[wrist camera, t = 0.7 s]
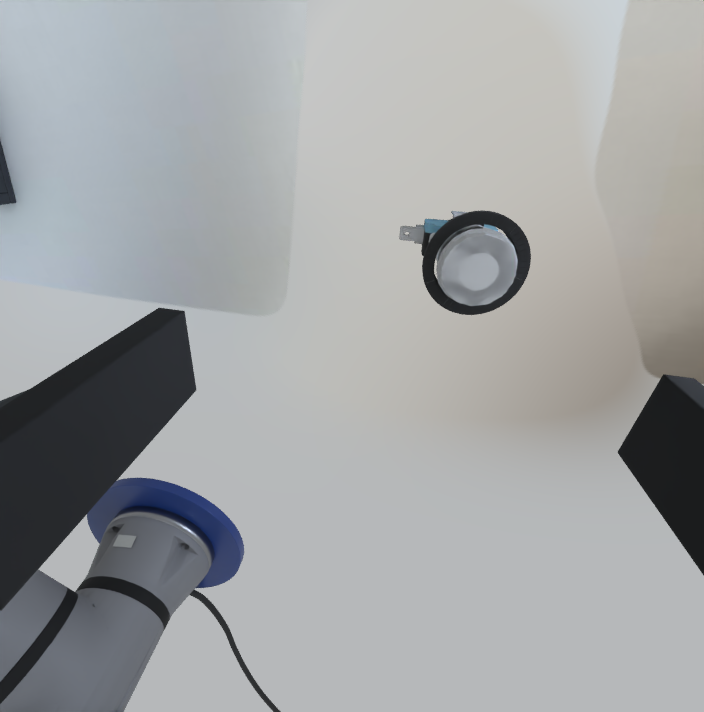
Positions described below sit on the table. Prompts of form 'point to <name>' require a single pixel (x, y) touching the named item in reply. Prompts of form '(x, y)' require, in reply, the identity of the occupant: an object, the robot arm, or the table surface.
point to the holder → (5, 182)
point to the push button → (472, 260)
